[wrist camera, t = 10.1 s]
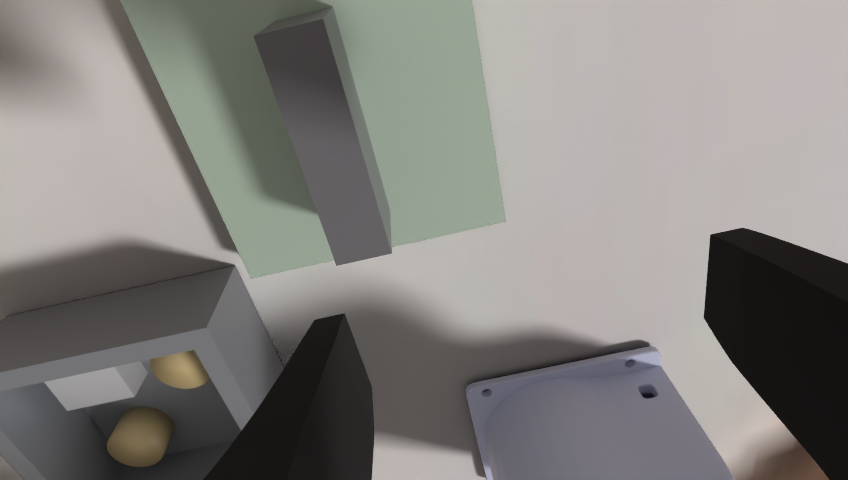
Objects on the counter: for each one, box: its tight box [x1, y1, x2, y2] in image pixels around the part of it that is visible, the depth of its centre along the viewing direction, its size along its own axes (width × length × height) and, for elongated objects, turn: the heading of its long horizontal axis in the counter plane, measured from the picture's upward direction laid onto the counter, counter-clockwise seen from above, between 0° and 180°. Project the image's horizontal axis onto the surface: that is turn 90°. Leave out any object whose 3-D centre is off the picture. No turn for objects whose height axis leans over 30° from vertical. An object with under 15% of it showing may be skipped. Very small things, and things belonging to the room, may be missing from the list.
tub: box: [0, 266, 284, 480], centre depth 22 cm, size 10×10×4 cm
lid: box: [120, 0, 506, 279], centre depth 17 cm, size 10×10×5 cm
